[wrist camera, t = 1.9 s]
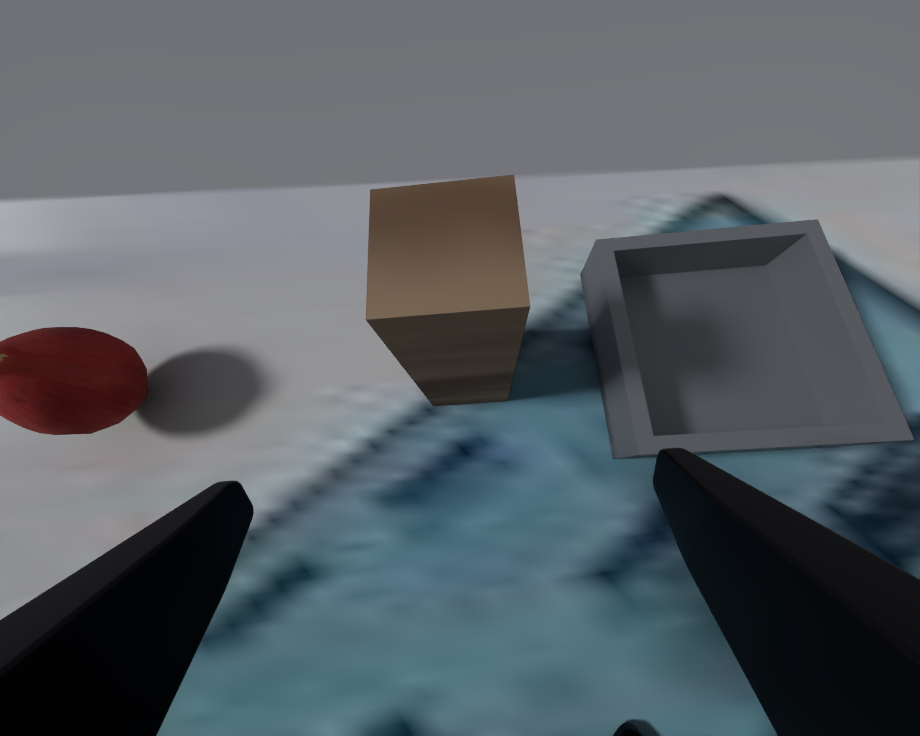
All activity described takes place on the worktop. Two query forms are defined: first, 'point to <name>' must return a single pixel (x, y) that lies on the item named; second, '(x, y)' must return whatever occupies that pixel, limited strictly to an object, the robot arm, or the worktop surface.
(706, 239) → the box
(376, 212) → the handle block
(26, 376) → the onion
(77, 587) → the robot arm
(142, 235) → the worktop surface
